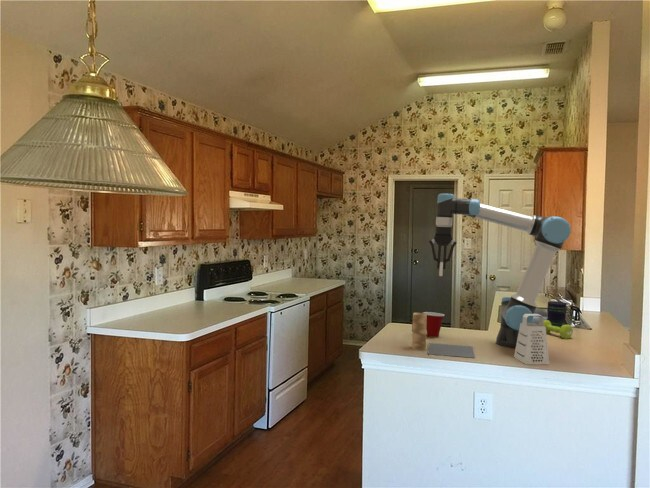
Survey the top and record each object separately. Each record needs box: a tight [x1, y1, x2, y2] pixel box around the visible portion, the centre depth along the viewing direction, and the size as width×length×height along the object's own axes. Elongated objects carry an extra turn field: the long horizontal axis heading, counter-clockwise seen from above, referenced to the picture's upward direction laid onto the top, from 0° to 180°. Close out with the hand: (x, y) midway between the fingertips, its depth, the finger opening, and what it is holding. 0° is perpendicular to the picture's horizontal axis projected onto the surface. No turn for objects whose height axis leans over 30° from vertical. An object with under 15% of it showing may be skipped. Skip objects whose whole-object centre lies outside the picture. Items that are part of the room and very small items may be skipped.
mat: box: [427, 342, 476, 359], centre depth 225 cm, size 20×20×1 cm
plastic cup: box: [422, 311, 445, 338], centre depth 253 cm, size 11×11×12 cm
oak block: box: [411, 312, 427, 351], centre depth 228 cm, size 6×6×16 cm
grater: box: [513, 313, 550, 365], centre depth 211 cm, size 10×10×20 cm
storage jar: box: [546, 300, 568, 328], centre depth 276 cm, size 10×10×15 cm
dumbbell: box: [543, 319, 574, 340], centre depth 260 cm, size 16×8×7 cm, turn 27°
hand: (440, 275), depth 234 cm, fingers closed
